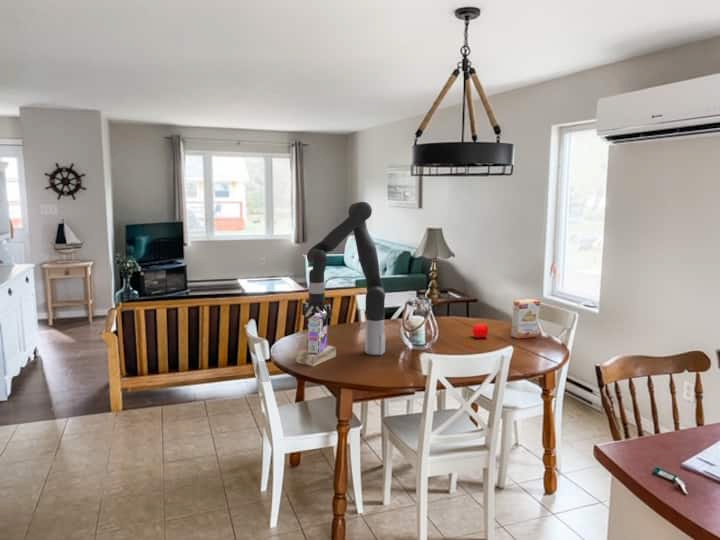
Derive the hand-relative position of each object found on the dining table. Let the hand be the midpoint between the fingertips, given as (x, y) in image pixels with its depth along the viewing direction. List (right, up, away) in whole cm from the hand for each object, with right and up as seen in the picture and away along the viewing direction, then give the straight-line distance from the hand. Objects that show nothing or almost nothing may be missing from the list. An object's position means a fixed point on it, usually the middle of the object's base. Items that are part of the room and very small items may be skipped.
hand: (316, 325), depth 244 cm
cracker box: (+114, -12, +47) cm, 124 cm away
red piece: (+88, -12, +45) cm, 99 cm away
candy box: (0, -12, +2) cm, 12 cm away
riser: (0, -17, +2) cm, 17 cm away
